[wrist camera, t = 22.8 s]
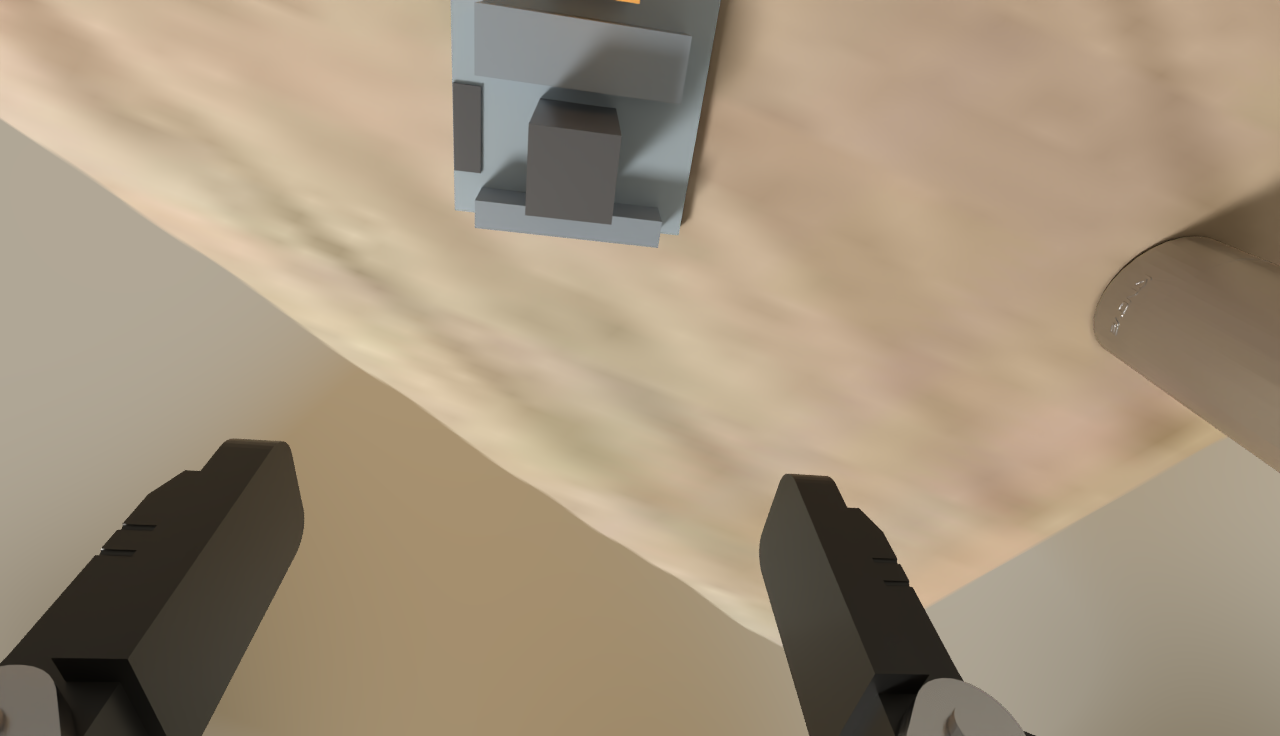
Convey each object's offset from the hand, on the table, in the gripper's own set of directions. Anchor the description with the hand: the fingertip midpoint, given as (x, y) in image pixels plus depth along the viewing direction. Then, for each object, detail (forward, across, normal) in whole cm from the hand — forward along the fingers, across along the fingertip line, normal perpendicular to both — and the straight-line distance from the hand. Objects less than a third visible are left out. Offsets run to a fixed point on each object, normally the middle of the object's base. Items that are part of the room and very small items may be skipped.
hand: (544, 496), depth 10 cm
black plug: (+27, 0, 0) cm, 27 cm away
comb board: (+28, 0, -4) cm, 28 cm away
